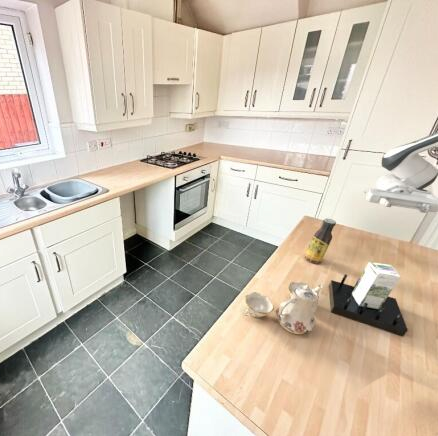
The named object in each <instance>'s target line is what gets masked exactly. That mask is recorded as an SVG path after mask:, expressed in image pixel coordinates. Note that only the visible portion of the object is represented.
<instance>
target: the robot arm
mask: <svg viewBox="0 0 438 436" xmlns="http://www.w3.org/2000/svg"><path fill="white" fill-rule="evenodd" d="M437 147H438V131H436V132H433V133H431V134H430V135H426V136H424V137H422V138H419V139H416V140H414V141H411V142H409V143H405V144H401V145H399V146H396V147H394V148H392V149H390V150H388V151H387V152H385V153H384V154H383V156H382V157H381V167H382V168H384V169H386V170H387V171H388V172H390V173H388V174H384V175H381V176H380V177H379V178H378V179H377V180H376V183H375V188H369V189H365V190H364V191H363V192H364V194H365V201H366V202H368V203H371V204H373V203H374V204H378V205H379V204H380V205H383V206H384V207H386V208H392V207H399V208H404V209H405V208H406V209H411V210H418V211H419V213H424V214H427V213H428V212H429V213H437V212H438V197H437V196H435V195H434V194H432V191H431V190H427V189H426V188H427V187H429V186H431V185H432V184H433V183H434V182H435V181H436V179H437V178H438V168H437V167H435V166H434V165H433V164H432V163H431V162H429V161H428V160H426V159H425V158H424V157H423V156H421V155H420V154H421V153H424V152H426V151H429V150H432V149H434V148H437Z"/></svg>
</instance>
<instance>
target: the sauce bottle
mask: <svg viewBox="0 0 438 436" xmlns="http://www.w3.org/2000/svg"><path fill="white" fill-rule="evenodd" d="M336 224H337V221H336V220H334V219H332V218H324V219H323V221H322V224H321V227H320V228H319V229H318V230H317V231H316V232H315V233H314V234H313V236H312V238H311V240H310V242H309V245H308V247H307V250H306V252H305V256H304V258H305V260H306V261H307V262H309V263H312V264H320V263H321V262H322V261H323V259H324V258H325V255H326V253H327V251H328V249H329V247H330V245H331V242H332V240H333V233H332V232H333V229H334V228H335V226H336Z"/></svg>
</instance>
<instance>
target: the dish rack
mask: <svg viewBox="0 0 438 436" xmlns="http://www.w3.org/2000/svg"><path fill="white" fill-rule="evenodd" d="M347 277H348V274H344V275H343V277H342V278H341V281H337V280H332V279H331V280H330V282H329V284H328V293H329V306H330V313H331V314H334V315H337V316H340V317H343V318H346V319H349V320H352V321H355V322H358V323H361V324H364V325H367V326H370V327H373V328H376V329H379V330H381V331H384V332H387V333H391V334H393V335H397V336H399V337H404V336H405V335H406V333H407V332H408V331H409V329H408V326H407V324H406V322H405V319H404V316H403V313H402V312H401V309H400V307H399V304H398V301H397V298H395V297H393V296H392V297H391V296H388V297H387V299H386V300H385V302H384V303H383V305H382V306H381V308H380V309H373V308H368V307H367V305H368V304H367V303H364V305H363V307H362V306H359V305H358V303H357V302H356V300H355V299H354V297H353V295H352V292H353V290H354V288H355V287H356V285H357V283H358V281H359V279H360V278H361V277H358V279H357V281H356V282H355V284H354V286H353V285H350V284H347V283H345V281H346V279H347Z"/></svg>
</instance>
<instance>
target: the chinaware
mask: <svg viewBox="0 0 438 436" xmlns="http://www.w3.org/2000/svg"><path fill="white" fill-rule="evenodd" d="M287 289H288V292H289V295H290V298H289V299H287V300H286V301H282V302H281V303H280V304H279V305H278V308H277V309H276V310H275V307H274V305H273V303H272V300H271V299H270V297H268V296H267V295H262V294H261V293H259V292H256V291H254V292H251V293H249V294H246V295H245V296H244V300H245V301H244V302H245V304H246V309H245V311H244V314H243V315H244V316H245V317H248V316H250V317H253V318H259V319H261V318H263V317H265V316H267V315H268V314H269V313H272V311H274V310H275V311H274V312H275V315H276V316H277V321H278V324H279V325H280V327H281V328H282V329H284V330H285V331H286V332H288V333H290V334H293V335H295V336H296V335H297V336H303V335H305V334H308V333H311V332H312V331H313V328H314V326H315V325H316V319H315V317H314V313H315V312H316V311H317V308H318V305H319V304H318V303H319V298H320V297H319V294H320V291H321V290H322V289H323V286H322V285H317V286H316V287H315V288H311V286H309V285H308V284H307V283H305V282H298V283H297V281H296V282H295V281H291V282H290V283H289V285H288V288H287ZM247 312H249V313H247Z"/></svg>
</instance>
